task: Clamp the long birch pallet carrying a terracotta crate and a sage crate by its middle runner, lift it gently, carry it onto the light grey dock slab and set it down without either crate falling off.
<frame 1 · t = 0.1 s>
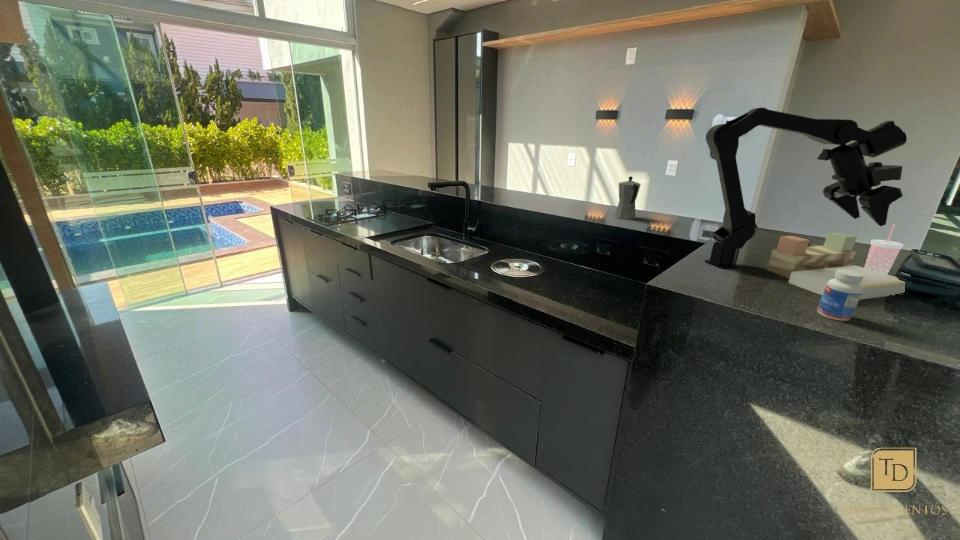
hand: (869, 221, 96), 15 cm above the worktop, tool tilted 30°, fingers open, 9 cm apart
coffeepot: (625, 218, 166), on the worktop
crate b: (837, 248, 104), point 6 cm above the worktop, touching pallet
dock: (846, 287, 93), on the worktop
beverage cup: (874, 274, 102), on the worktop
crate a: (790, 252, 100), point 6 cm above the worktop, touching pallet
pallet: (807, 271, 104), on the worktop, touching crate a, crate b
egg carton: (804, 254, 120), on the worktop
pill bottle: (832, 316, 79), on the worktop
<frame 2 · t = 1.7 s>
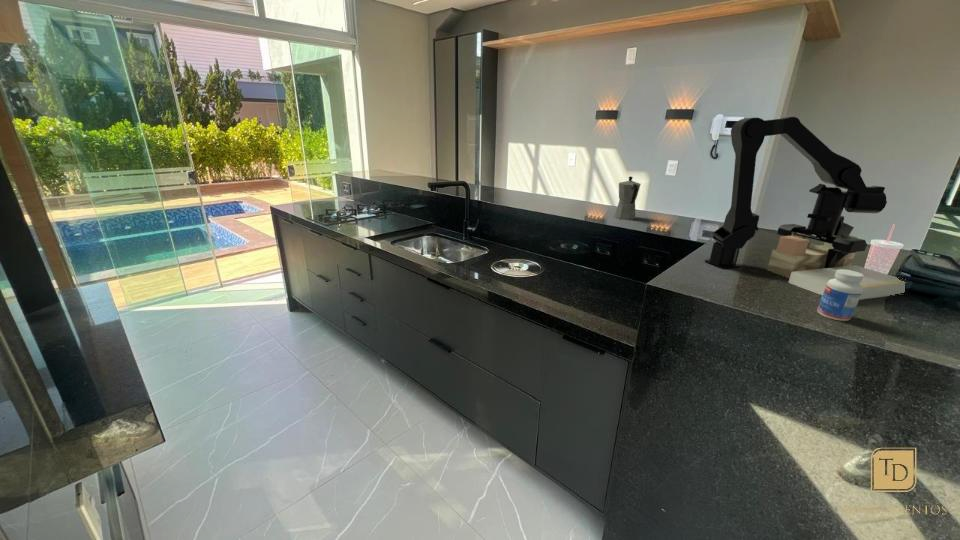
hand: (808, 267, 104), 1 cm above the worktop, tool pointing down, fingers open, 8 cm apart
nothing on the worktop moved.
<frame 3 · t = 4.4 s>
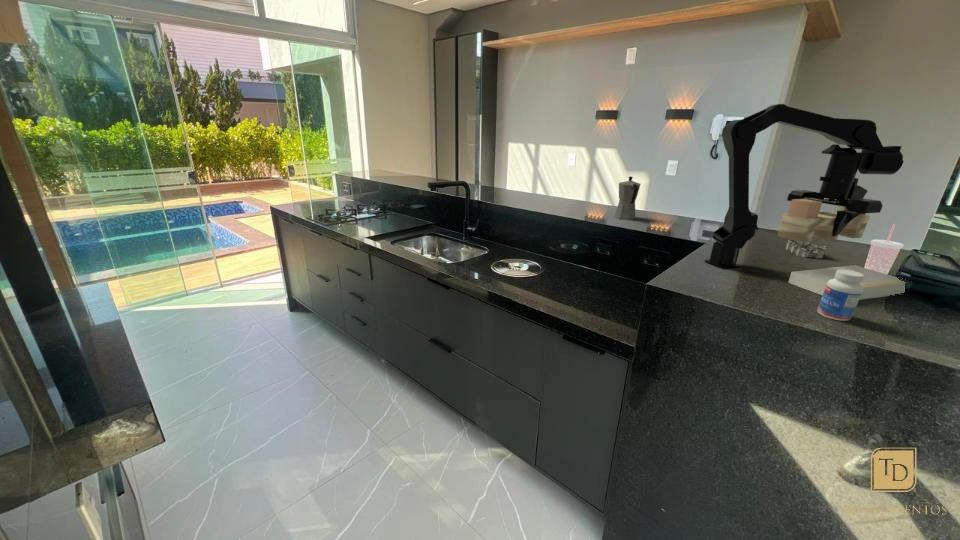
hand: (820, 233, 100), 11 cm above the worktop, tool pointing down, fingers closed on pallet, 6 cm apart
crate b: (850, 213, 100), point 16 cm above the worktop, touching pallet
crate a: (801, 216, 96), point 16 cm above the worktop, touching pallet
pallet: (819, 236, 101), point 10 cm above the worktop, touching crate a, crate b, gripper
everything else where it was.
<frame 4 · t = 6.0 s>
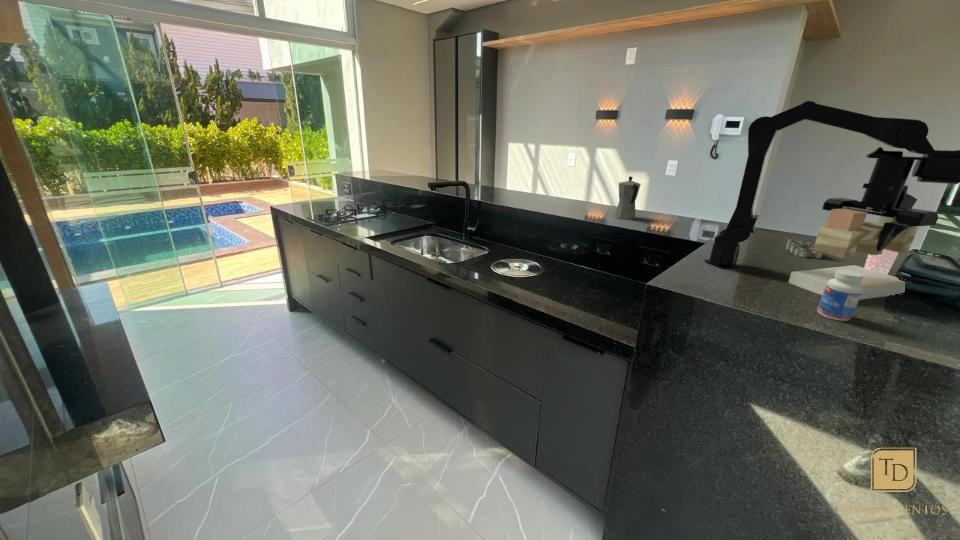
hand: (861, 246, 89), 11 cm above the worktop, tool pointing down, fingers closed on pallet, 6 cm apart
crate b: (895, 224, 89), point 16 cm above the worktop, touching pallet
crate a: (842, 228, 85), point 16 cm above the worktop, touching pallet
pallet: (860, 250, 90), point 10 cm above the worktop, touching crate a, crate b, gripper
everything else where it was.
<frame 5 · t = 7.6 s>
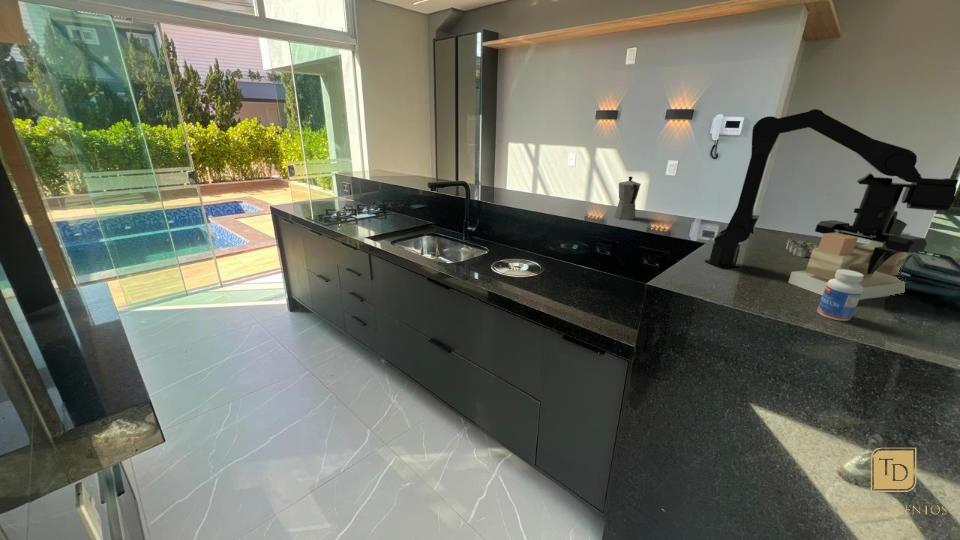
hand: (853, 269, 91), 5 cm above the worktop, tool pointing down, fingers closed on pallet, 6 cm apart
crate b: (885, 247, 91), point 10 cm above the worktop, touching pallet
crate a: (834, 252, 87), point 10 cm above the worktop, touching pallet
pallet: (851, 273, 92), point 4 cm above the worktop, touching crate a, crate b, gripper
everything else where it was.
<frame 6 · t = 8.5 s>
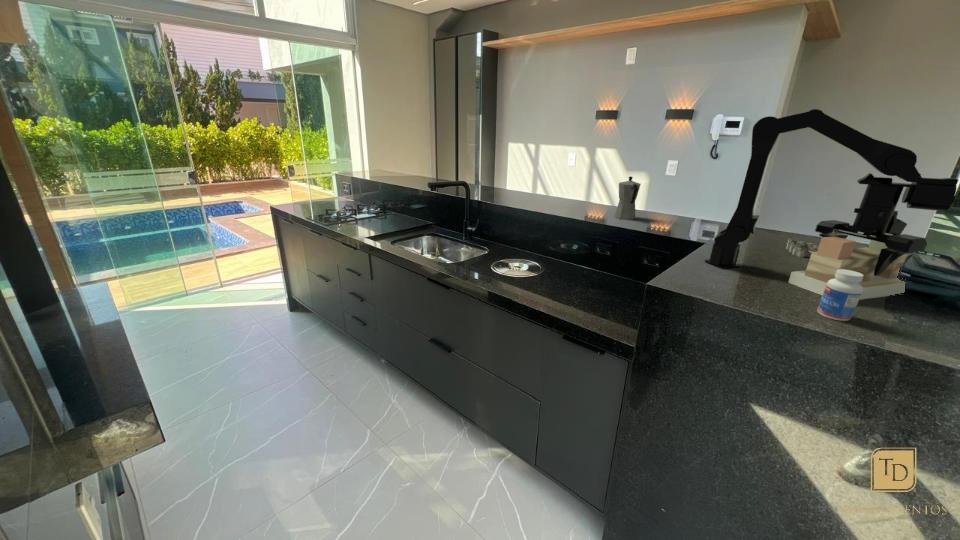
hand: (853, 269, 91), 5 cm above the worktop, tool pointing down, fingers open, 9 cm apart
pallet: (850, 276, 92), point 3 cm above the worktop, touching crate a, crate b, dock
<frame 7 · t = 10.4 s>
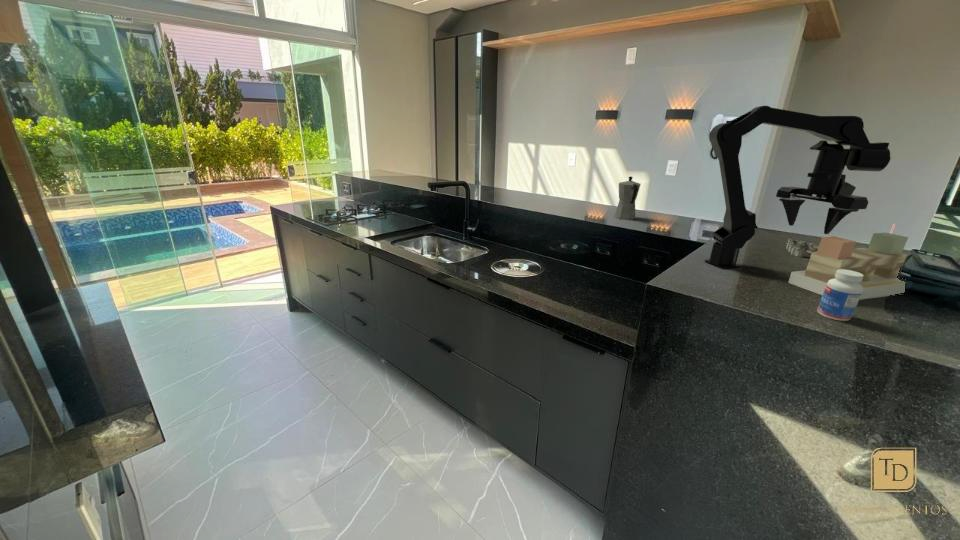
hand: (807, 229, 100), 12 cm above the worktop, tool pointing down, fingers open, 9 cm apart
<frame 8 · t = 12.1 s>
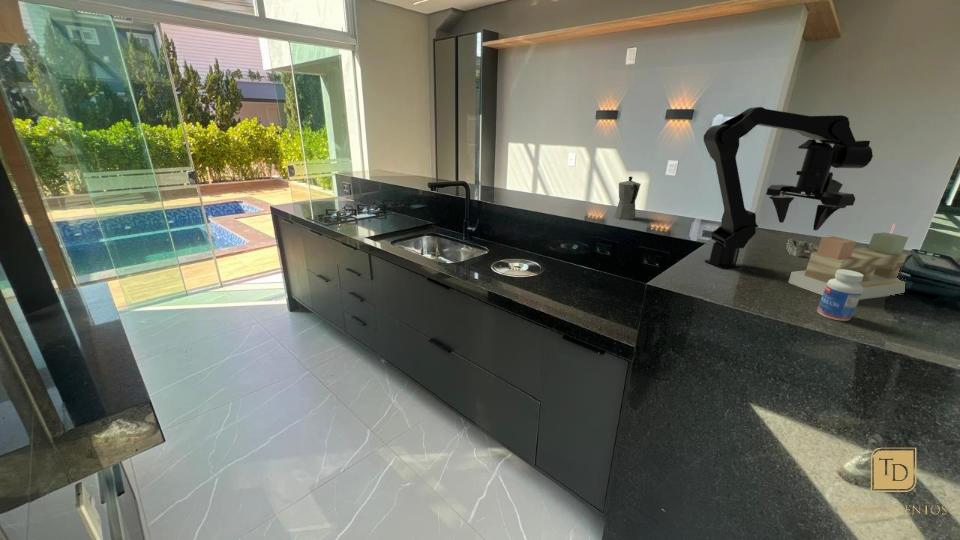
hand: (797, 226, 103), 12 cm above the worktop, tool pointing down, fingers open, 9 cm apart
at the end: pallet 0.0 cm off-centre on the dock, point 3.0 cm above the dock's base; crate a point 9.0 cm above the worktop; crate b point 9.0 cm above the worktop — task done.
